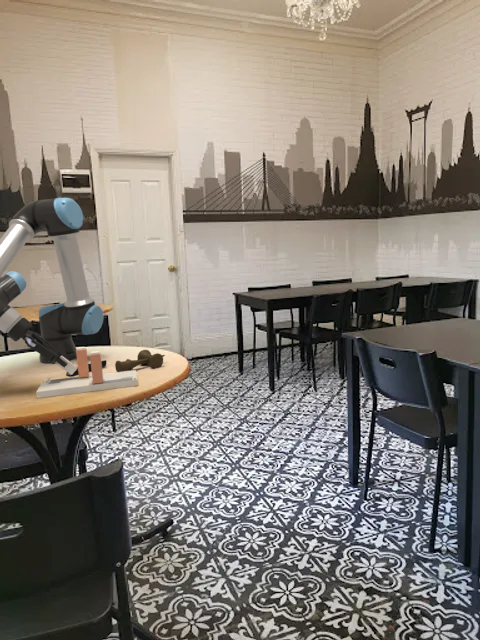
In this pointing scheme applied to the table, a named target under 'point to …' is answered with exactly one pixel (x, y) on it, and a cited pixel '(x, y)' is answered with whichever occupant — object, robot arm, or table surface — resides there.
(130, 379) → the white fixture board
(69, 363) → the robot arm
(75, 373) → the electric trimmer
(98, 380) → the orange rectangular block
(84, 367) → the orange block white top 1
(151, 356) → the kendama
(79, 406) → the table surface
